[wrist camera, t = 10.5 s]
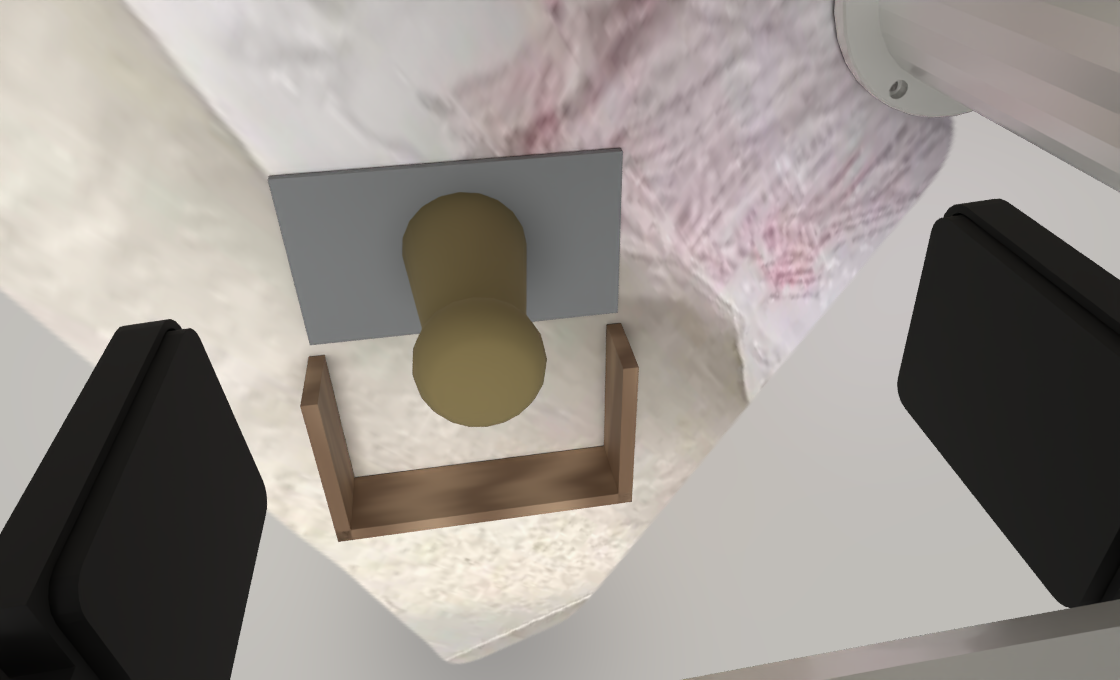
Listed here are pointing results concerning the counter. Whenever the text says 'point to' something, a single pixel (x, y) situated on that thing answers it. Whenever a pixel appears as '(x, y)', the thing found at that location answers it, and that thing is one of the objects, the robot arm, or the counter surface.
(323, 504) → the counter surface
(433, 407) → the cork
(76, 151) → the counter surface
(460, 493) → the wooden u-shaped frame
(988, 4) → the robot arm
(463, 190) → the charcoal mat
